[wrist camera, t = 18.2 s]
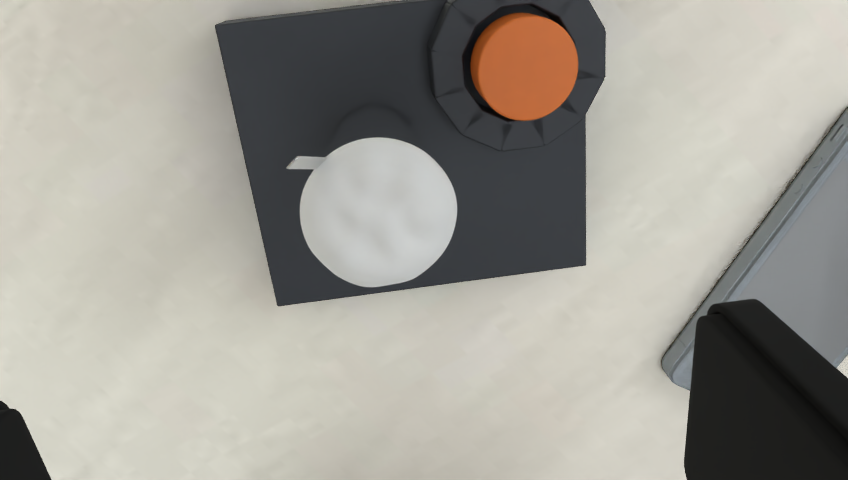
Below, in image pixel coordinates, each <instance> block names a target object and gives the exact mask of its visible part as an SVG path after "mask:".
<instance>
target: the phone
mask: <svg viewBox="0 0 848 480" xmlns="http://www.w3.org/2000/svg"><path fill="white" fill-rule="evenodd" d="M746 299H757V300H759V301H760V302H762V303H763V304H764V305H765V306H766V307H767V308H769V309H770V310H771V311H772V312H773V313H774V314H775V315H777V316H778V317H779V318H780V319H781V320H782V321H783V322H784V323H786V324H787V325H788V326H789V327H790V328H791V329H792V330H794V331H795V332H796V333H797V334H798V335H799V336H800V337H801V338H803V339H804V340H805V341H806V342H807V343H808V344H809V345H810V346H812V347H813V348H814V349H815V350H816V351H817V352H818V353H820V354H821V355H822V356H823V357H824V358H825V359H826V360H827V361H829V362H830V363H831V364H832V365H833V366H834V367H835V368H837V367H838V365H839V364H840V363H841V362H842V361H843V360H844V358H845V357H846V356H847V355H848V108H847V109H846V110H845V112H844V113H843V114H842V116H841V117H840V118H839V120H838V121H837V122H836V124H835V125H834V126H833V128H832V129H831V130H830V132H829V133H828V135H827V136H826V137H825V139H824V140H823V141H822V143H821V144H820V145H819V147H818V148H817V149H816V151H815V152H814V153H813V155H812V156H811V158H810V159H809V160H808V162H807V163H806V164H805V166H804V167H803V168H802V170H801V171H800V172H799V174H798V175H797V177H796V178H795V179H794V181H793V182H792V183H791V185H790V186H789V187H788V189H787V190H786V191H785V193H784V194H783V195H782V197H781V198H780V200H779V201H778V202H777V204H776V205H775V206H774V208H773V209H772V210H771V212H770V213H769V214H768V216H767V217H766V218H765V220H764V221H763V223H762V224H761V225H760V227H759V228H758V229H757V231H756V232H755V233H754V235H753V236H752V237H751V239H750V240H749V241H748V243H747V244H746V246H745V247H744V248H743V250H742V251H741V252H740V254H739V255H738V256H737V258H736V259H735V260H734V262H733V263H732V264H731V266H730V267H729V269H728V270H727V271H726V273H725V274H724V275H723V277H722V278H721V279H720V281H719V282H718V283H717V285H716V286H715V287H714V289H713V290H712V292H711V293H710V294H709V296H708V297H707V298H706V300H705V301H704V302H703V304H702V305H701V306H700V308H699V309H698V311H697V312H696V313H695V315H694V316H693V317H692V319H691V320H690V321H689V323H688V324H687V325H686V327H685V328H684V329H683V331H682V332H681V334H680V335H679V336H678V338H677V339H676V340H675V342H674V343H673V344H672V346H671V347H670V348H669V350H668V351H667V352H666V354H665V355H664V357H663V359H662V367H663V370H664V372H665V373H666V374H667V376H668V377H669V378H670V380H671V381H672V382H673V383H675V384H676V385H678V386H680V387H683V388H685V389H687V390H690V388H691V376H692V365H693V353H694V342H695V330H696V323H697V320H698V318H699V317H701V316H705V315H707V311H708V309H709V308H710V306H711V305H713V304H716V303H724V302H731V301H738V300H746Z"/></svg>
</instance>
